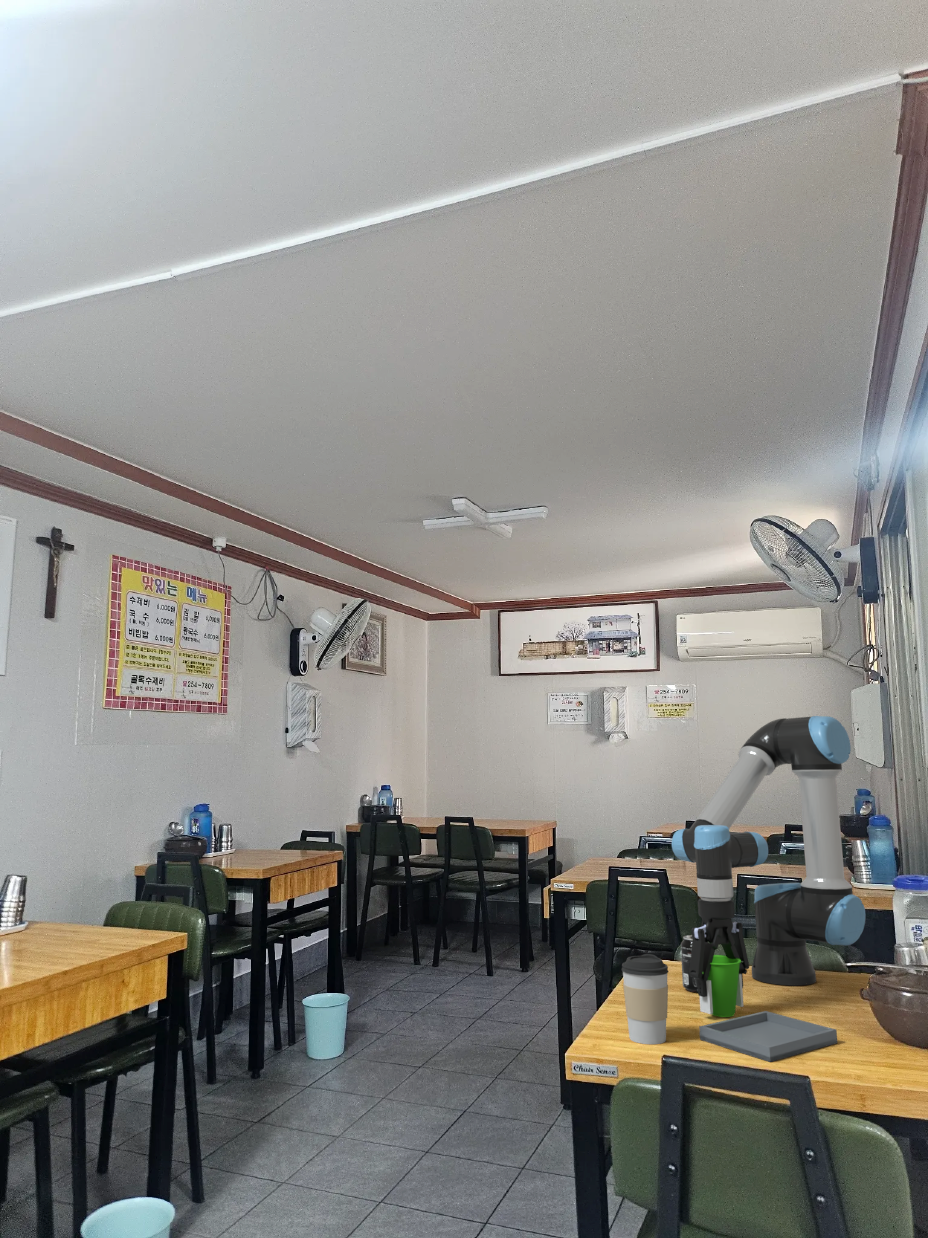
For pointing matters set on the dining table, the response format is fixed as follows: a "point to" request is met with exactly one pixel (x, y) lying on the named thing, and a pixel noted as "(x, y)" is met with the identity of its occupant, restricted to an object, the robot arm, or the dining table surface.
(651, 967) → the coffee cup
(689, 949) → the beverage can
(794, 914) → the robot arm
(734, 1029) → the tray
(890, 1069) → the dining table surface
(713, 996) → the cup
